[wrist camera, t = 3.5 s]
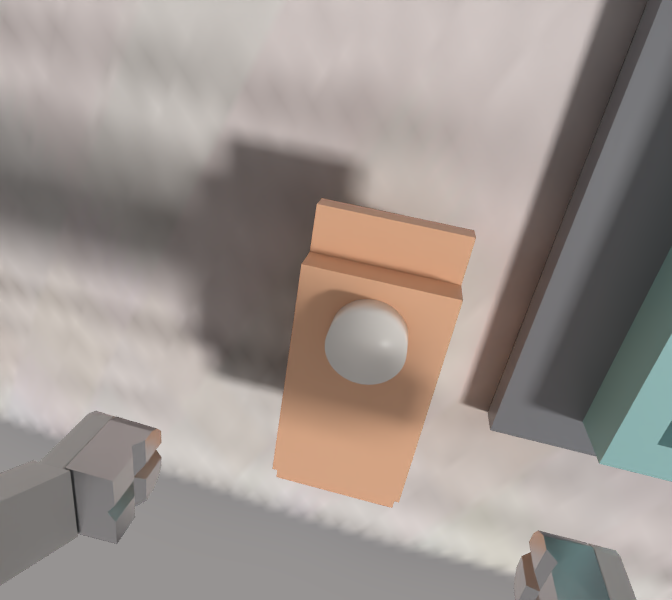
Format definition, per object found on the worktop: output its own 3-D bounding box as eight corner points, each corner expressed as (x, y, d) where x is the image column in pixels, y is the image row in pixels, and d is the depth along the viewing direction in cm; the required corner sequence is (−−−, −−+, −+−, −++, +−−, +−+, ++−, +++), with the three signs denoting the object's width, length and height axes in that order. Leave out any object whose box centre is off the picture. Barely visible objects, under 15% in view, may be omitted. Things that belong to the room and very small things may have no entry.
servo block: (305, 402, 20) (260, 518, 15) (344, 172, 16) (300, 223, 11) (400, 426, 20) (387, 553, 15) (466, 197, 16) (481, 263, 10)
